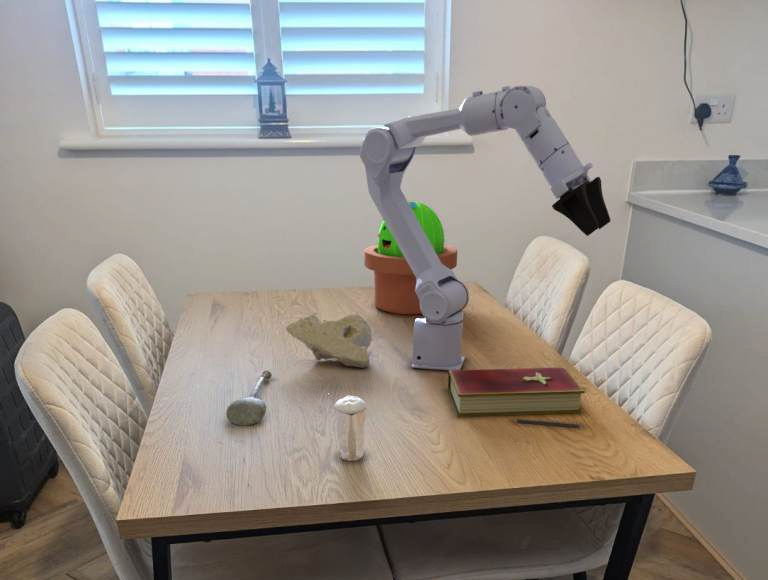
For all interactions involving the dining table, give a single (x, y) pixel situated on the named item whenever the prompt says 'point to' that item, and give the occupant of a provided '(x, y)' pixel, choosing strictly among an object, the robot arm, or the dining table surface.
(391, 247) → the potted cactus
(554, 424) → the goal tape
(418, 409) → the dining table surface
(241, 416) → the soupspoon
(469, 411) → the hardcover book
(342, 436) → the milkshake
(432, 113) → the robot arm
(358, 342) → the beige rock fragment
